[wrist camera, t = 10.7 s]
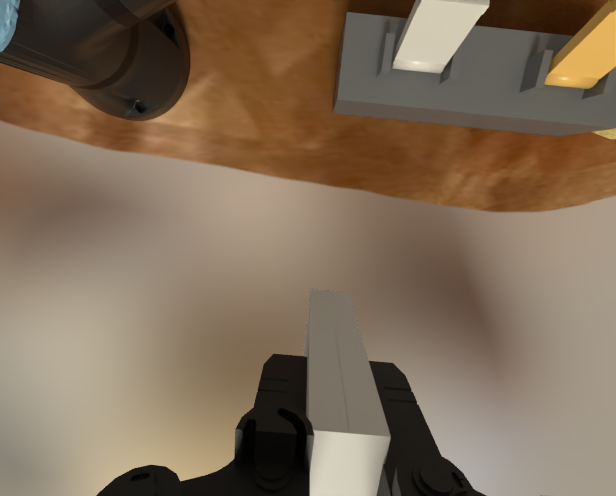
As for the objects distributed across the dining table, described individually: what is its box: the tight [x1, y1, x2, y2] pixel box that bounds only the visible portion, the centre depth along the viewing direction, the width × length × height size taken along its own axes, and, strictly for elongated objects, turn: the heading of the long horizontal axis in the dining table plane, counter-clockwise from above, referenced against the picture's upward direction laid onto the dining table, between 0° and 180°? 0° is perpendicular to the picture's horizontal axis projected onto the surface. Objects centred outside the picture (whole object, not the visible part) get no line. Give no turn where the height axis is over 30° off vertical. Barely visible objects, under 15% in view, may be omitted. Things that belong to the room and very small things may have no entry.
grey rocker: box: [392, 0, 490, 74], centre depth 27 cm, size 2×5×8 cm, turn 84°
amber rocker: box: [545, 0, 616, 89], centre depth 27 cm, size 2×5×8 cm, turn 84°
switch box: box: [333, 12, 616, 136], centre depth 34 cm, size 30×8×10 cm, turn 84°
